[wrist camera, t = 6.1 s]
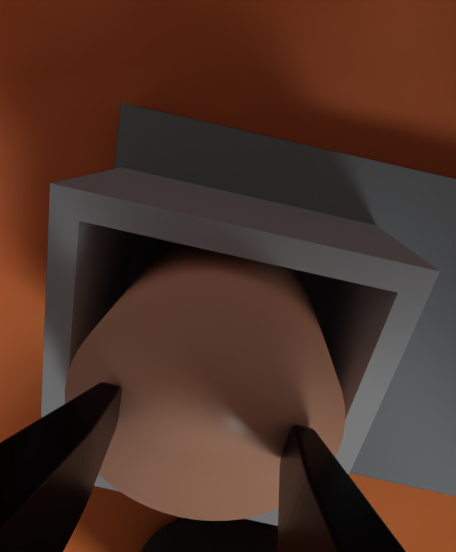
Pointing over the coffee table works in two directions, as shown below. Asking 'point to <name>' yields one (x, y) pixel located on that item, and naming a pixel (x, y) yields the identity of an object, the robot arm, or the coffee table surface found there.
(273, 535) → the pen holder
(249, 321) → the terracotta button
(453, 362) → the twin socket base plate
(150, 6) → the coffee table surface
